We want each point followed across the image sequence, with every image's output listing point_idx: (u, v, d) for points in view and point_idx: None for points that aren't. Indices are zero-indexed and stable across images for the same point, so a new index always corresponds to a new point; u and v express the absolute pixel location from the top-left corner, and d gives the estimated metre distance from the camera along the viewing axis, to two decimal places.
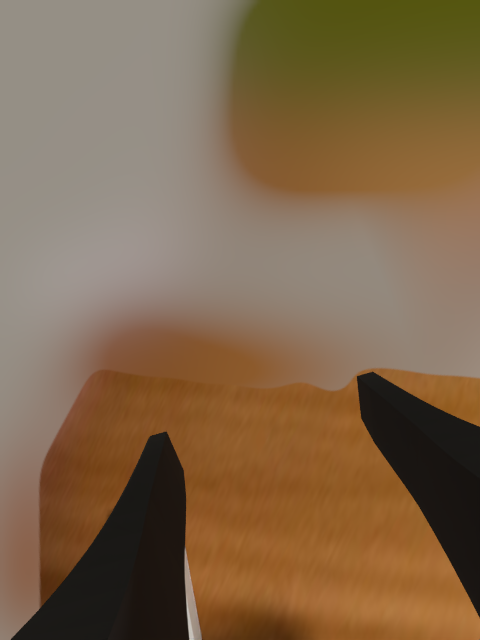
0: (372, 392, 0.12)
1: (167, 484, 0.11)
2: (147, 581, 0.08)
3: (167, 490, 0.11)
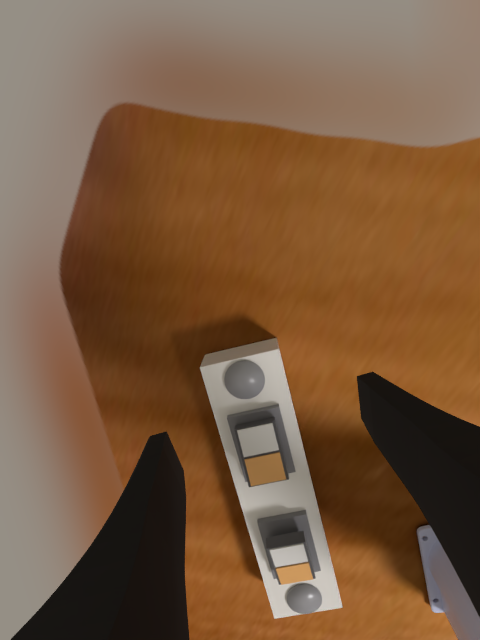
0: (372, 392, 0.12)
1: (167, 484, 0.11)
2: (147, 581, 0.08)
3: (167, 490, 0.11)
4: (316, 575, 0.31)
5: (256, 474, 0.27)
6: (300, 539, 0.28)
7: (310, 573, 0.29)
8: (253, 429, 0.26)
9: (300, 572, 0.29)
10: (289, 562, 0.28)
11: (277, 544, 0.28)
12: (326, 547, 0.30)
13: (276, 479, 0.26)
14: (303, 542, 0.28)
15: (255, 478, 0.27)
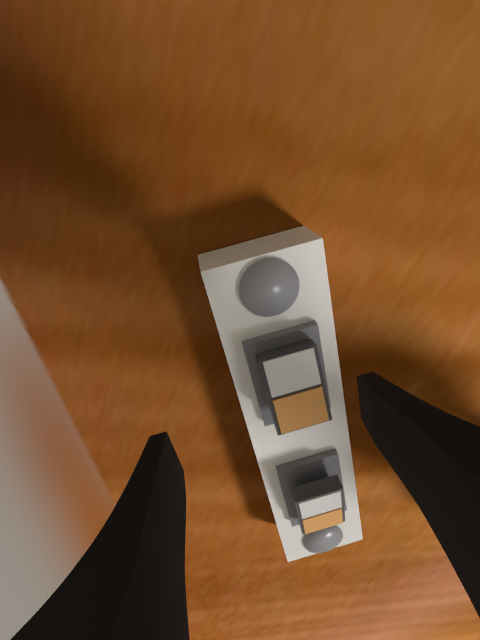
0: (372, 392, 0.12)
1: (167, 484, 0.11)
2: (147, 581, 0.08)
3: (167, 490, 0.11)
4: None
5: (289, 418, 0.19)
6: (335, 485, 0.22)
7: (341, 518, 0.24)
8: (286, 359, 0.18)
9: (330, 519, 0.24)
10: (319, 511, 0.23)
11: (307, 495, 0.22)
12: (354, 484, 0.25)
13: (316, 422, 0.19)
14: (340, 489, 0.22)
15: (287, 423, 0.19)
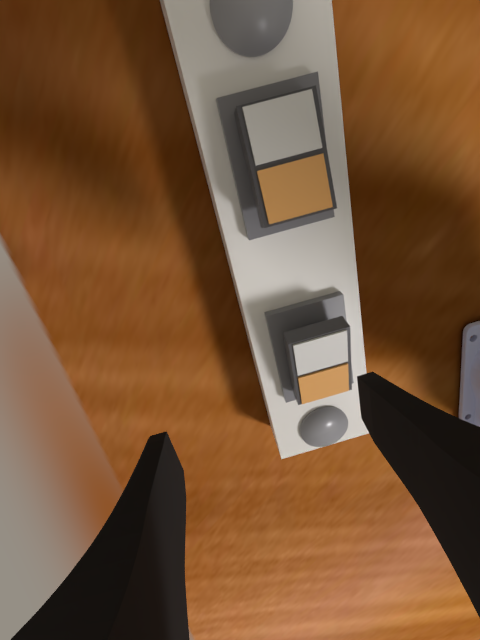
0: (372, 392, 0.12)
1: (167, 484, 0.11)
2: (147, 581, 0.08)
3: (167, 490, 0.11)
4: (343, 392, 0.22)
5: (279, 201, 0.14)
6: (340, 325, 0.17)
7: (346, 381, 0.19)
8: (274, 105, 0.13)
9: (333, 381, 0.19)
10: (320, 365, 0.18)
11: (304, 336, 0.17)
12: (362, 349, 0.20)
13: (315, 209, 0.14)
14: (346, 328, 0.17)
15: (277, 210, 0.14)
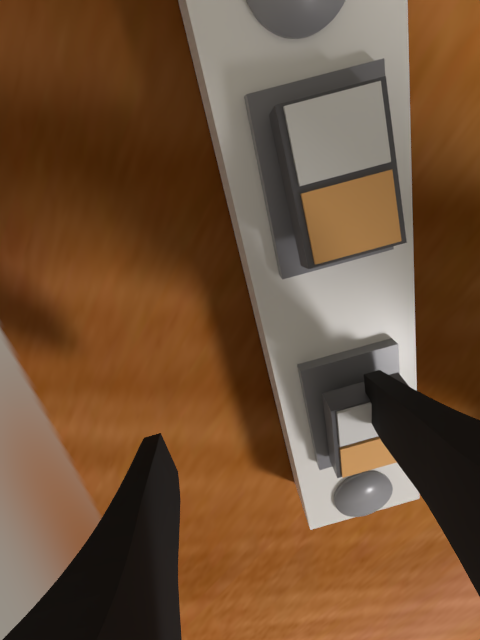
0: (379, 390, 0.12)
1: (160, 486, 0.11)
2: (138, 584, 0.08)
3: (161, 492, 0.11)
4: None
5: (330, 234, 0.10)
6: None
7: None
8: (328, 104, 0.10)
9: (383, 451, 0.15)
10: (369, 434, 0.14)
11: (351, 400, 0.13)
12: None
13: (377, 244, 0.11)
14: None
15: (327, 245, 0.11)
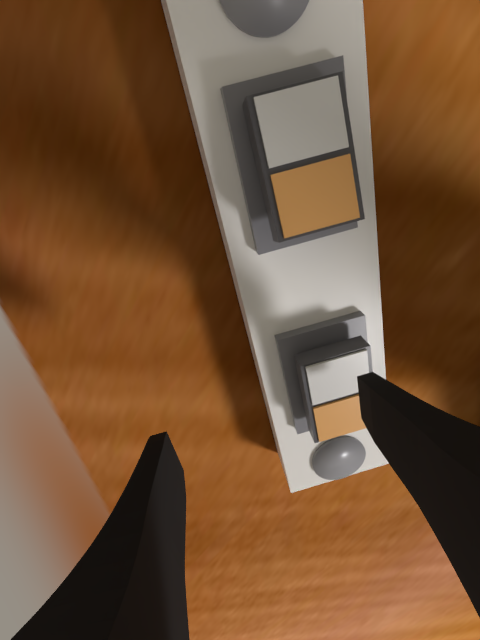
0: (372, 392, 0.12)
1: (167, 484, 0.11)
2: (147, 582, 0.08)
3: (167, 490, 0.11)
4: None
5: (297, 211, 0.12)
6: (359, 344, 0.15)
7: None
8: (292, 96, 0.11)
9: (354, 413, 0.16)
10: (338, 393, 0.16)
11: (318, 357, 0.15)
12: (383, 375, 0.18)
13: (339, 220, 0.12)
14: (366, 347, 0.15)
15: (294, 221, 0.12)
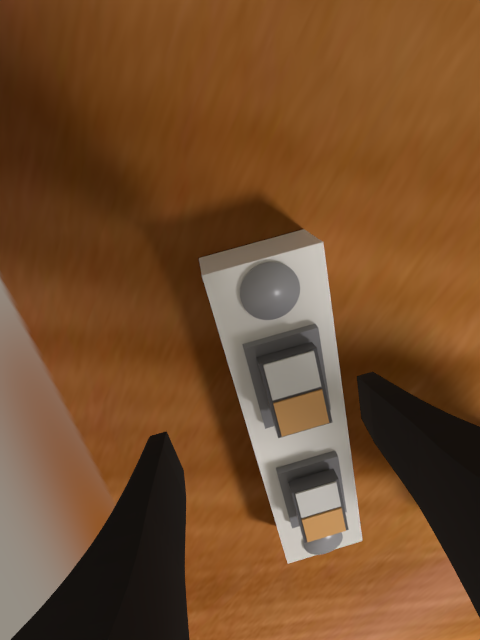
0: (372, 392, 0.12)
1: (167, 484, 0.11)
2: (147, 581, 0.08)
3: (168, 490, 0.11)
4: None
5: (289, 421, 0.19)
6: (331, 477, 0.23)
7: (342, 522, 0.24)
8: (286, 362, 0.18)
9: (331, 522, 0.23)
10: (318, 509, 0.23)
11: (304, 486, 0.22)
12: (353, 486, 0.25)
13: (316, 424, 0.19)
14: (336, 480, 0.22)
15: (288, 426, 0.19)
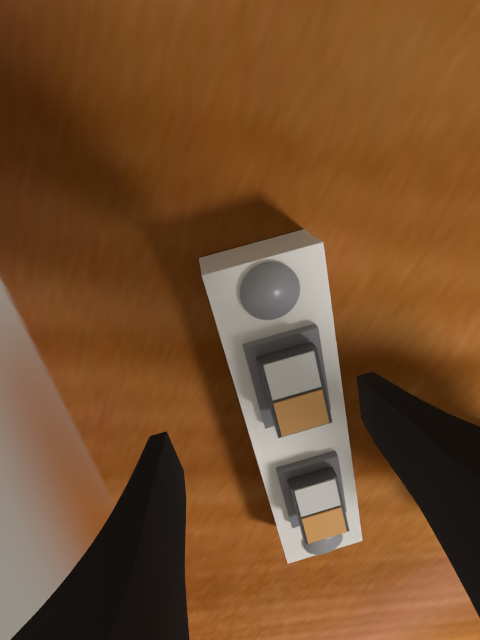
0: (372, 392, 0.12)
1: (167, 484, 0.11)
2: (147, 581, 0.08)
3: (168, 490, 0.11)
4: None
5: (289, 421, 0.19)
6: (330, 474, 0.23)
7: (343, 523, 0.23)
8: (286, 362, 0.18)
9: (331, 522, 0.23)
10: (318, 508, 0.23)
11: (303, 483, 0.23)
12: (353, 486, 0.25)
13: (316, 424, 0.19)
14: (335, 477, 0.23)
15: (288, 426, 0.19)
